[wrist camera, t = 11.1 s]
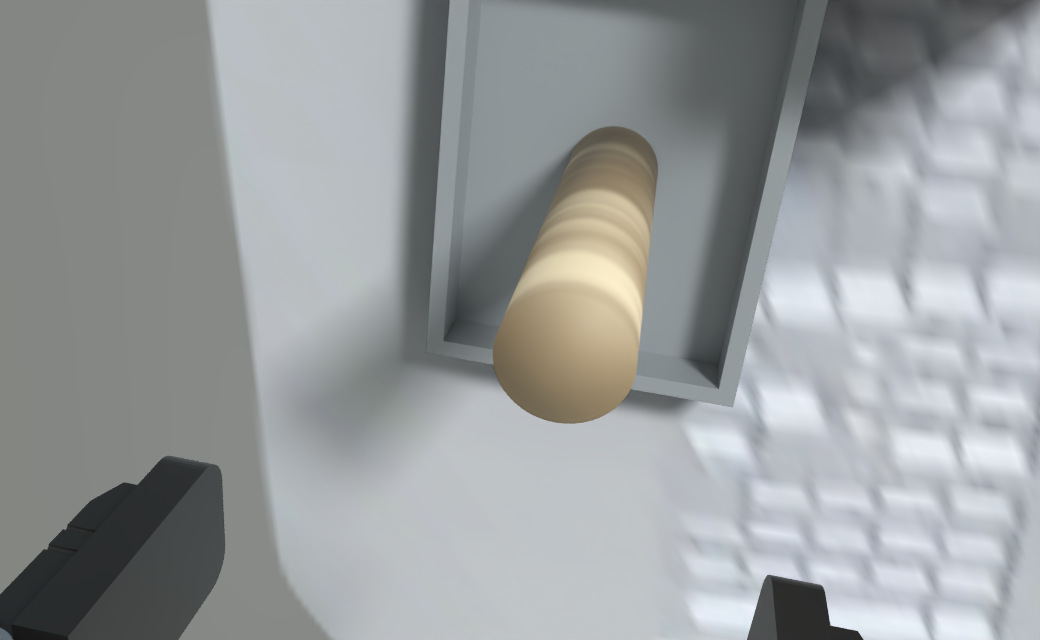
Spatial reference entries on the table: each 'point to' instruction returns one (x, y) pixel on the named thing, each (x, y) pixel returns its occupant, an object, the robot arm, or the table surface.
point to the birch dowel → (583, 285)
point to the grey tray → (656, 117)
